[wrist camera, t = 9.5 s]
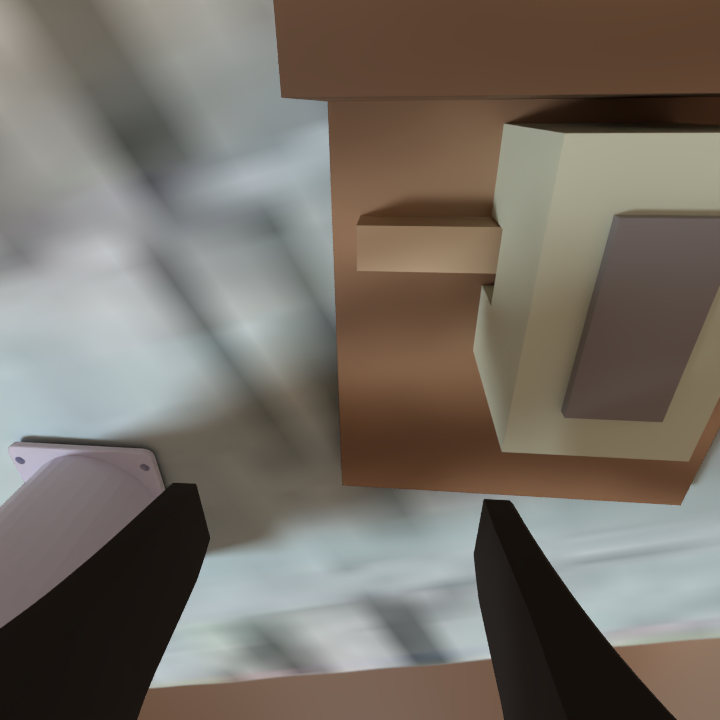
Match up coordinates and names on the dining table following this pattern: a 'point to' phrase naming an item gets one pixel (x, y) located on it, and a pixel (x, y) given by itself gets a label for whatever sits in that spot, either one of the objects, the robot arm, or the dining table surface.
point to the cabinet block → (604, 290)
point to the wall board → (468, 207)
